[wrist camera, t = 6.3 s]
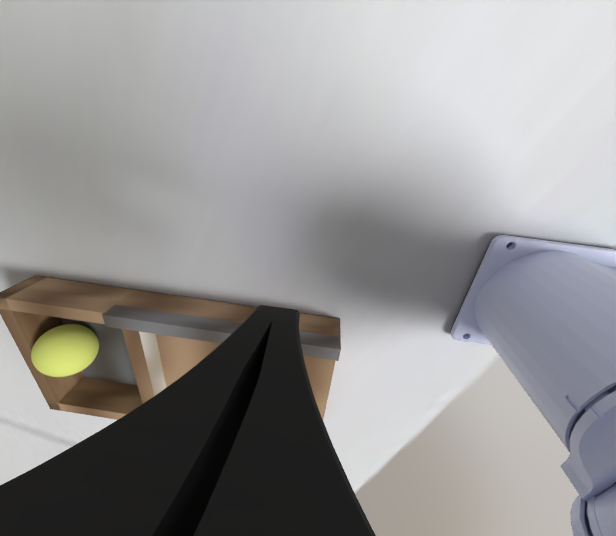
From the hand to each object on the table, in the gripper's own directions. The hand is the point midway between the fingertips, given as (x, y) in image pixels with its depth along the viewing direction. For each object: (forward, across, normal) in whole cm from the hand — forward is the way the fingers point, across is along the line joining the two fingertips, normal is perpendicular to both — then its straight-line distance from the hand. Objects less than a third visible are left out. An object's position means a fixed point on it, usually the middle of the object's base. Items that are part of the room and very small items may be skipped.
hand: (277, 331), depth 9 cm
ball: (+7, +18, +11) cm, 22 cm away
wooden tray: (+9, +9, +12) cm, 18 cm away
